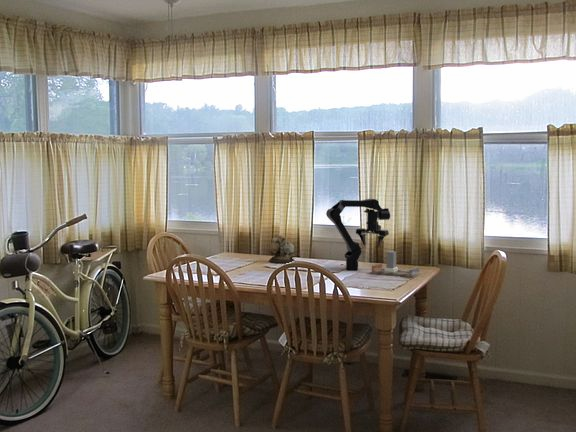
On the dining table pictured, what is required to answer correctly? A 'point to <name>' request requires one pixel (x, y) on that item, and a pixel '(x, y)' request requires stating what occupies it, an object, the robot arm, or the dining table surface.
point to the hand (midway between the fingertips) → (371, 246)
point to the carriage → (391, 262)
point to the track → (411, 273)
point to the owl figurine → (281, 250)
